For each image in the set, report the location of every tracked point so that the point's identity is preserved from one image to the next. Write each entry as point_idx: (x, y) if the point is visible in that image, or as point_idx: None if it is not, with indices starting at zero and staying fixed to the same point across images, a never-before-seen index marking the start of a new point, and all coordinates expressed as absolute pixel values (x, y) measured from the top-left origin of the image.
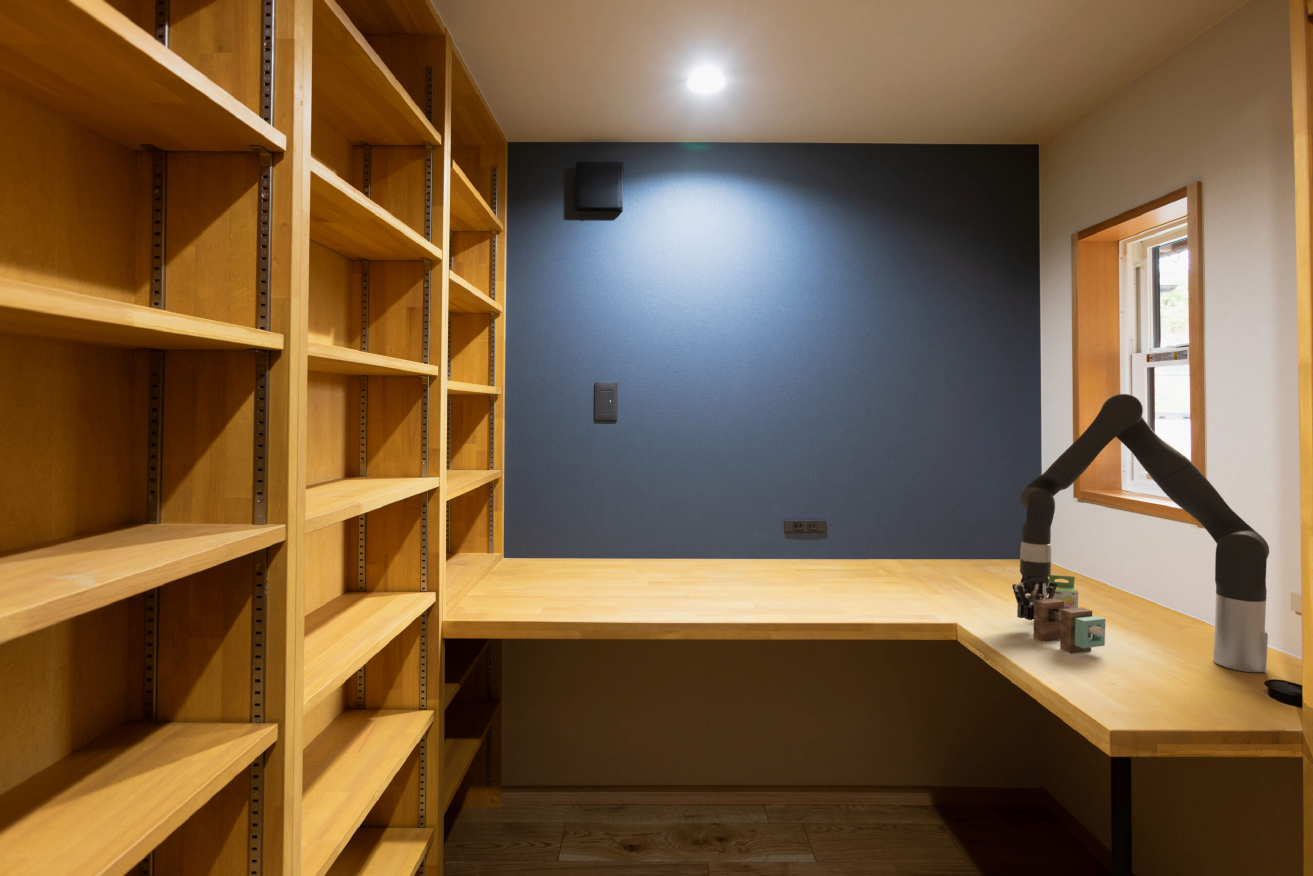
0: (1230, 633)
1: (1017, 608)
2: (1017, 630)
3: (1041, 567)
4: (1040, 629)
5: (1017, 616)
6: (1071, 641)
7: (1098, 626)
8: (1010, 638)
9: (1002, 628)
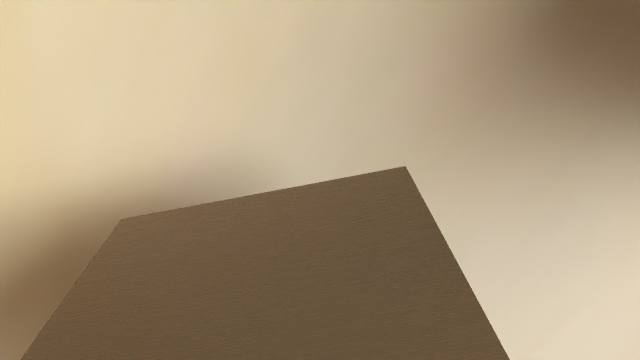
0: None
1: (74, 285)
2: (182, 141)
3: None
4: None
5: (119, 227)
6: None
7: None
8: (8, 322)
9: (50, 69)
